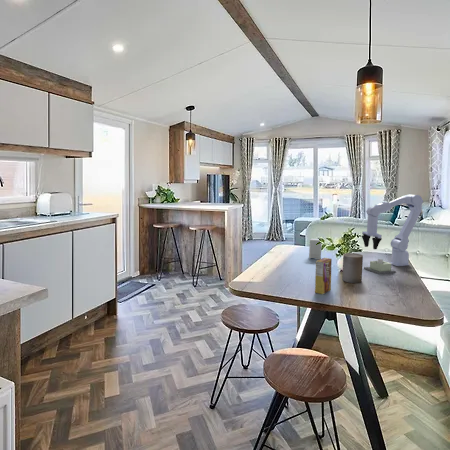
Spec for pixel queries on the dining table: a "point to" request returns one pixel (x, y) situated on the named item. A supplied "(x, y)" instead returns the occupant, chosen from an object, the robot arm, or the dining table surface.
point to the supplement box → (315, 249)
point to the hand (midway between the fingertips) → (370, 247)
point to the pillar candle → (352, 267)
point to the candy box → (323, 275)
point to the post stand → (379, 271)
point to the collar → (380, 266)
